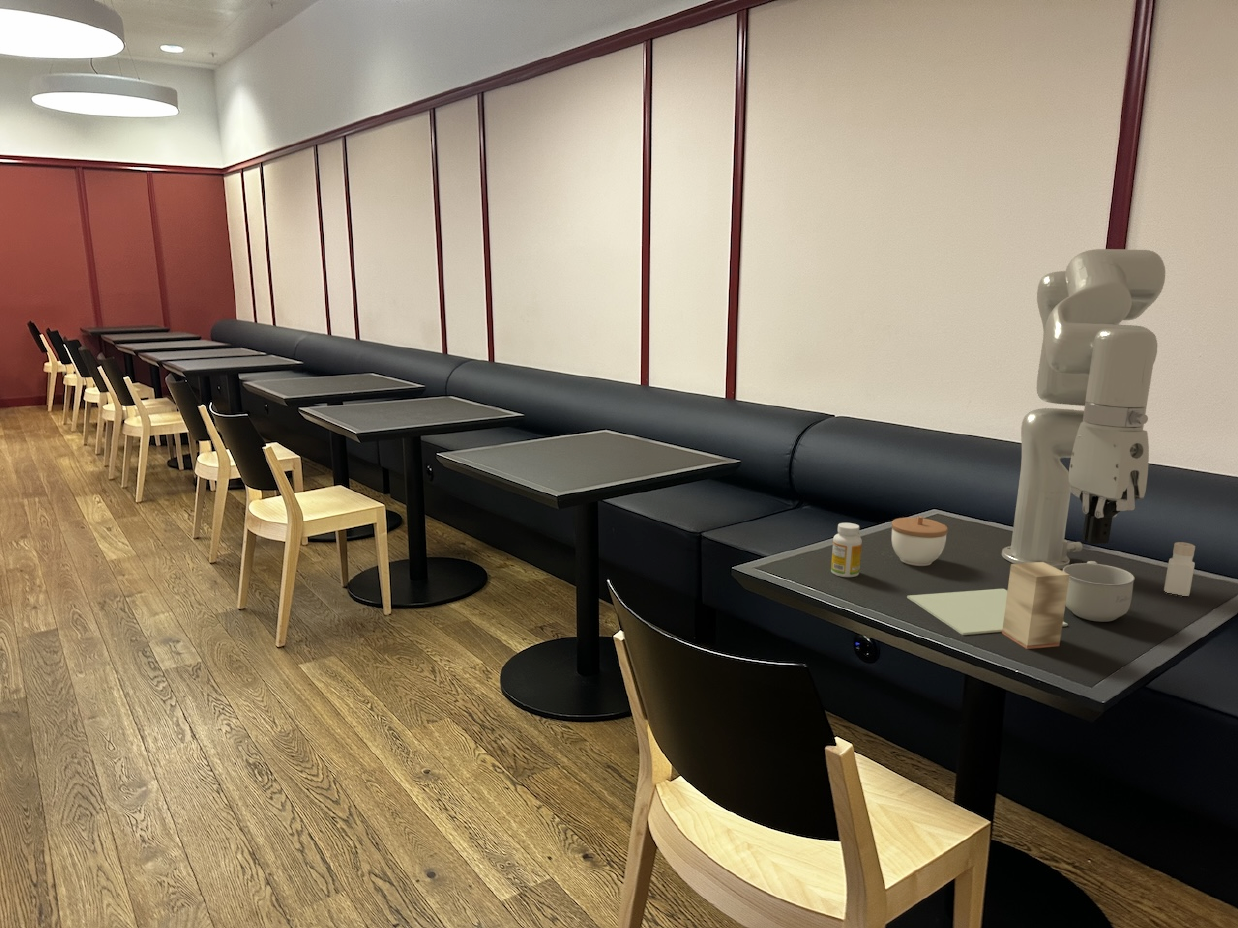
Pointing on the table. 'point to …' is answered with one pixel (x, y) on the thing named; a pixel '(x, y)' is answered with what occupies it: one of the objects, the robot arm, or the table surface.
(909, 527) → the lidded jar
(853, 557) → the supplement bottle
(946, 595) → the sage mat
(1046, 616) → the maple block
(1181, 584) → the pepper shaker
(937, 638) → the table surface
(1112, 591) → the teacup
